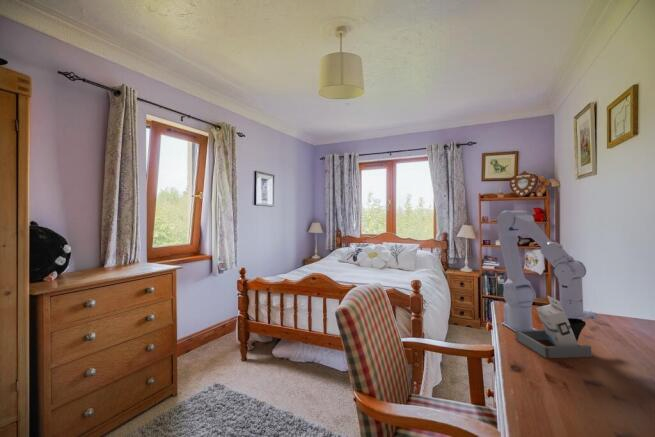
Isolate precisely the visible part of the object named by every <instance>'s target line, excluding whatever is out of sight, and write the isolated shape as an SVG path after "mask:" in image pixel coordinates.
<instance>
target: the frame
mask: <svg viewBox="0 0 655 437" xmlns="http://www.w3.org/2000/svg"><path fill="white" fill-rule="evenodd" d="M515 340H516V341H518V342H519V343H520V344H522V345H524V346H526V347H527V348H529V349H530V350H532V351H533V352H535V353H537V354H539V355H540V356H542V357H543V358H545V359H562V358H566V359H567V358H568V359H570V358H589V357H590V358H592V355H593V354H592V346H591V345H589V344H587V345H586V344H585V345H583V344H582V345H579V344H578V345H577V346H555V345H552V346H551V345H550V346H547V345H545V344H543V343H541V342H539V341H549V339H548V337H547V334H546V332H545V329H537V330H525V331H516V332H515Z"/></svg>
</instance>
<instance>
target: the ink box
mask: <svg viewBox="0 0 655 437" xmlns="http://www.w3.org/2000/svg"><path fill="white" fill-rule="evenodd" d="M546 297H547V300H548V302H549V304H546V305H542V306H537V307H536V311H537V314H538V316H539V320H540V321H541V324H542V326H543V330H545V332H546V334H547V337H548V339H549V340H548V341H549V343H551V344H552V346H577V345H579V343H578V341H576V338H575V336H574V333H573V331H572V328H571V326H570V323H569V321H568V318H567V316H566V313H565V311H564V309H563V306H562V304H561V302H560V300H558V299H556V298H554V297H552V296H549V295H546Z"/></svg>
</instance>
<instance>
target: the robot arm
mask: <svg viewBox="0 0 655 437" xmlns="http://www.w3.org/2000/svg"><path fill="white" fill-rule="evenodd" d="M496 220H497V221H496V222H497V228H498V230H497V236H498V241H499V244H500V249H501V254H502V259H503V264H504V267H505V268H504V269H505V272H506V273H505V274H506V277H507V279H506V281H505V282H504V283H503V284H502V286H503V292H502V294H503V295H502V296H503V299H504V301H505V302H506V303H504V306H503V322H501V324H502V325H504V326H505V327H507V328H509V329H510V330H512V331H514V332H515V333H516V331H525V330H538V329H537V328H534V327H533V321H532V320H533V319H532V318H533V317H532V315H533V314H532V305H533V302H534V301H535V300H536V297H537V294H536V291H535V288H533V286H532V283H531V281H529V279H527V278H526V277H525V274H524V269H523V265H522V260H521V257H520V252H519V248H518V244H517V239H516V236H517V234H518V233H519V232H520V231H523V232H524V233H526V234H527V235H528V236H529V237H530V238H531V239H532V240H533V241H534V242H535V243H536V244H537V245H538V246H539V247H540V254H541V255H543V257H544V258H545V259H546V260H547V261H548V263H550V265H551V266H552V267H553V268H554V269H553V273H554V275H555V277H556V278H557V283H559V285H558V287H559V301H560V302H561V304H562V306H563V309H564V311H565V313H566V316H567V318H568V321H569V323H570V326H571V328H572V331H573V333H574V336H575V338H576V341H577V342H578V341H579V339H580V338H579V337H580V335H581V332H582V331H583V329H584V328H585V327H586V325H587V322H586V321H585V320H598V313H597V312H594V311H584V299H583V298H584V296H583V295H584V291H583V278H585V276H586V274H587V268H586V266H585V265H584V263H583V262H582V261H581V260H576V259H574V257H573V256H571V255H569V253H568V252H567V251H566V250H565V249H564V248H563V247H564V246H563V245H562V244H561V243H558V242H557V241H552V240H551V239H550V238H549V237H548V236H547V235H546V234H545V232H544V231H543V230H542V229H541V227H539V225H538V223H537V222H535V217H534V216H533V215H532V214H530V212H529V211H528V210H525V209H521V210H503V211H501V212H500V213H499V215H498V216H497V218H496Z"/></svg>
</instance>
